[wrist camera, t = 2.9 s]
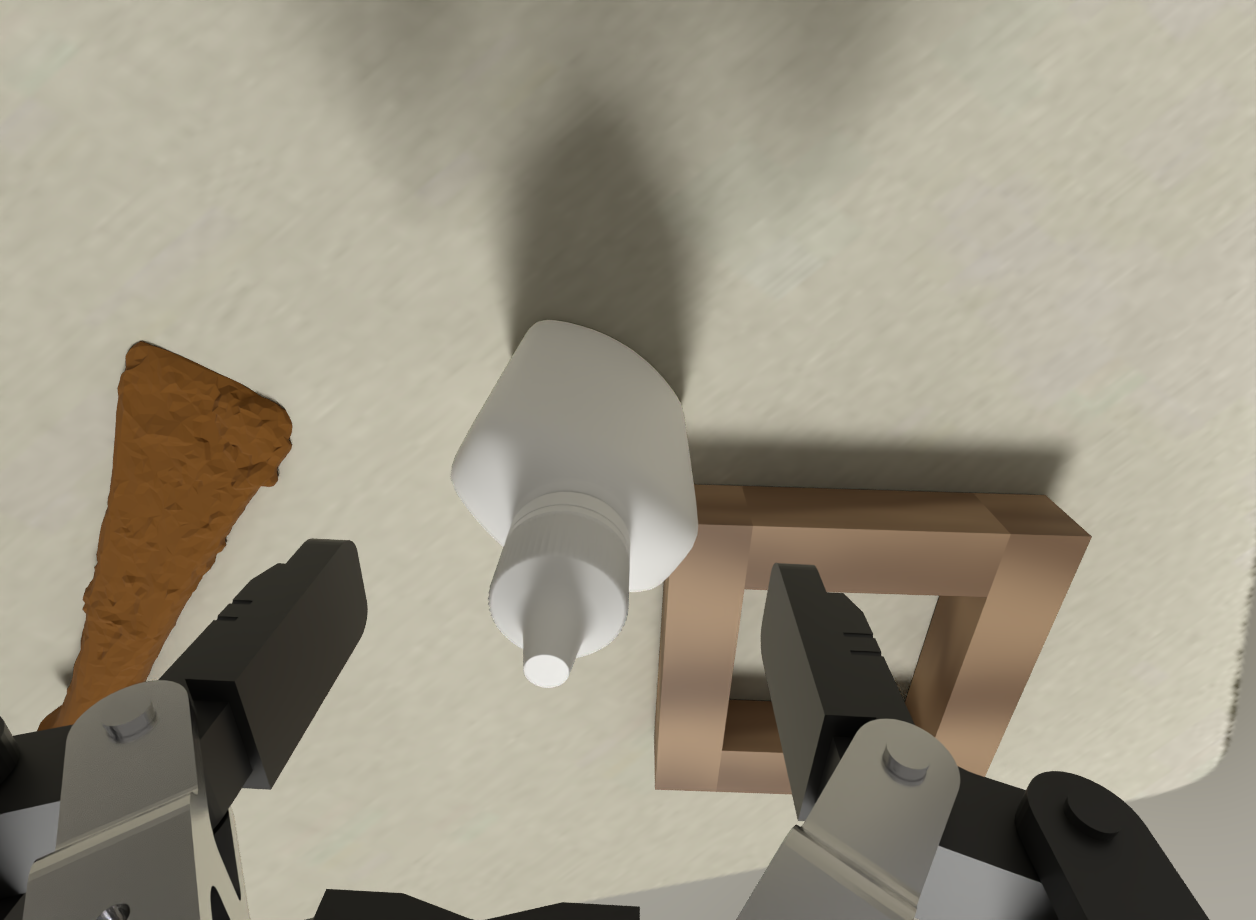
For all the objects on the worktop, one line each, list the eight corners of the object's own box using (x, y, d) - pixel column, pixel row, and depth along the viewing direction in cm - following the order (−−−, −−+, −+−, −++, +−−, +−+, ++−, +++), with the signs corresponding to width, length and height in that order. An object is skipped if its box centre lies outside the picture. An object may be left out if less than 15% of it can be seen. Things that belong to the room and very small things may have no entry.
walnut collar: (669, 483, 22) (672, 523, 19) (1045, 495, 22) (1092, 536, 19) (654, 736, 28) (655, 789, 25) (947, 747, 28) (974, 800, 25)
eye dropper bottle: (583, 480, 22) (524, 814, 11) (493, 342, 19) (312, 592, 9) (696, 428, 21) (753, 740, 10) (615, 275, 18) (578, 468, 8)
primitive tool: (141, 330, 20) (50, 368, 17) (309, 407, 21) (254, 455, 18) (76, 695, 28) (6, 765, 25) (200, 735, 29) (148, 808, 26)
